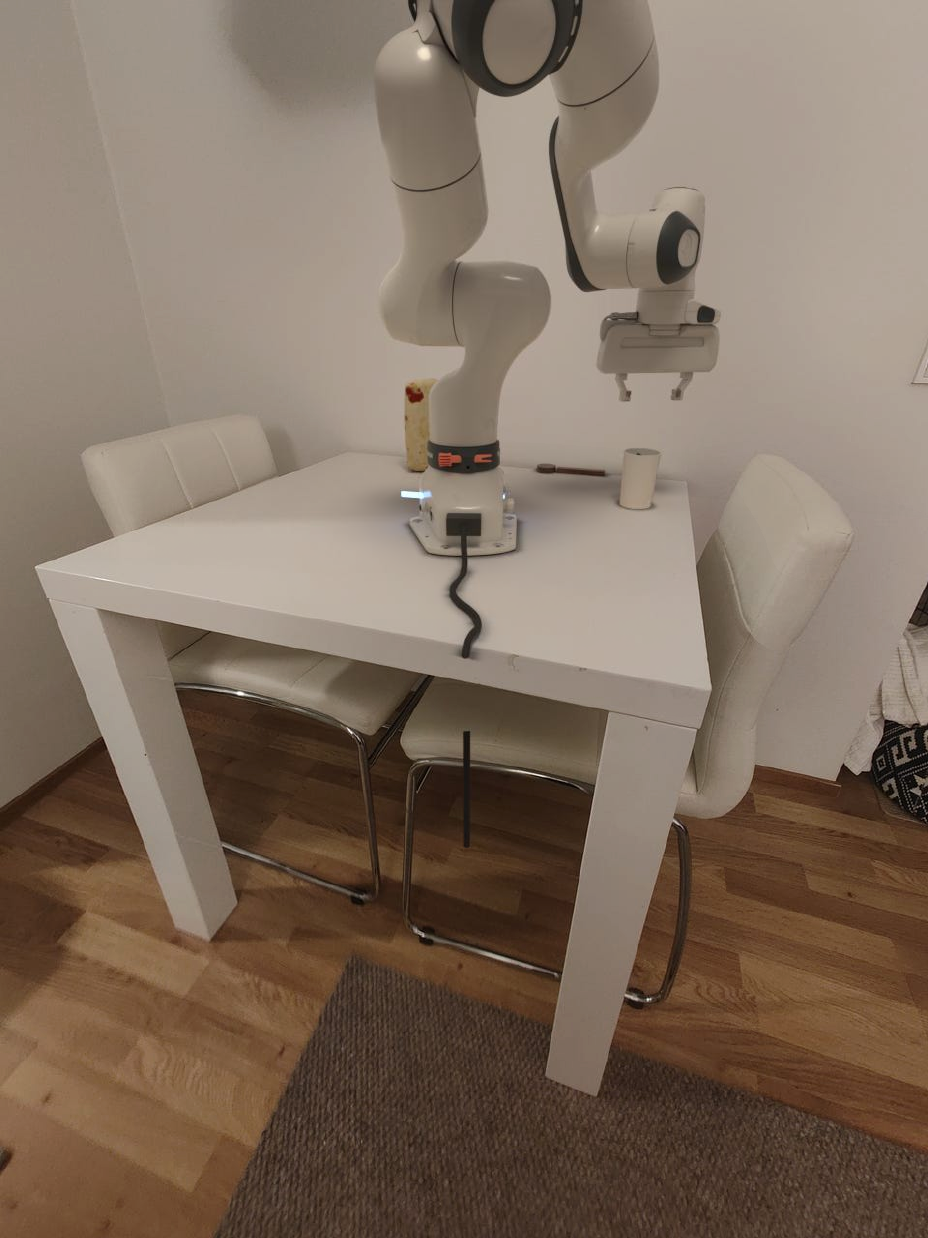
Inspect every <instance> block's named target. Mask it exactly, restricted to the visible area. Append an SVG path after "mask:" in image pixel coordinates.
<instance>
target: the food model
mask: <svg viewBox="0 0 928 1238" xmlns="http://www.w3.org/2000/svg"><path fill="white" fill-rule="evenodd" d="M438 380H439V379H437V378H423V379H419V380H417V379H414V380H412V381H410V382H407V383H406V384H405V386H404V436H405V437H404V439H405V441H404V442H405V450H406V464H407V468H408V469H409V470H410V471H414V472H422V471H423V472H425V471H426V469H427V468H428V466H429V464H428V462H427V442H428V440H429V439H430V434H429V400H428V397H429V393H430V390H431V388H432V386H433V385H434V384H435V382H436V381H438Z"/></svg>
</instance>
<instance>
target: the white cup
mask: <svg viewBox="0 0 928 1238" xmlns="http://www.w3.org/2000/svg"><path fill="white" fill-rule="evenodd" d="M661 458H662V451H660V450H657V449H653V448H648V447H647V448H645V447H631V448H626V449H624V450H623V458H622V469H621V484H620V493H619V495H620V496H619V505H620V506H621V507H623V508H627V509H632V510H646V509H649V508H650V507H651V506H652V501H653V495H654V491H655V488H656V487H655V486H656V482H657V476H658V472H659V466H660V462H661Z"/></svg>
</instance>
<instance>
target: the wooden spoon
mask: <svg viewBox="0 0 928 1238" xmlns="http://www.w3.org/2000/svg"><path fill="white" fill-rule="evenodd" d="M536 472H537V473H540V474H553V473H558V474H559V473H560V474H573V475H586V476H598V477H605V475H606V470H605V469H596V468H583V467H582V468H581V467H579V468H578V467H566V466H557V465H555V464H552V463H539V464H537V465H536Z"/></svg>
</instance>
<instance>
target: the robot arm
mask: <svg viewBox="0 0 928 1238" xmlns="http://www.w3.org/2000/svg"><path fill="white" fill-rule="evenodd" d="M407 7H408V10H409V13H410V15H411V18H412V20H413V22H414V23H413V25H411V26H410V27H408V28H406V29H404V30H402V31H400V32H398V33H397V34H395V35H394V36H392V37H391V38H390V39H389V40H388V41H387V42H386V43H385V44H384V45H383V47H382V48H381V50H380V51H379V53H378V56H377V58H376V61H375V65H374V69H373V88H374V89H373V90H374V98H375V108H376V116H377V124H378V129H379V136H380V140H381V146H382V151H383V156H384V160H385V164H386V167H387V168H386V169H387V171H388V177H389V180H390V183H391V186H392V191H393V195H394V199H395V203H396V208H397V212H398V217H399V221H400V227H401V234H402V246H401V252H400V255H399V258H398V260H397V262H396V264H395V265H394V266H393V267H392V268H391V269H390V270H389V271H388V272H387V273H386V274H385V276H384V278H383V280H382V282H381V284H380V287H379V289H378V290H379V291H378V296H377V308H378V314H379V317H380V321H381V323H382V325H383V328H384V329H385V331H386V332H387V334H388V335H389V336H390V337H391V338H392V339H393V340H395V341H399V342H403V343H407V344H411V345H415V346H419V347H454V348H455V347H457V348H458V347H459V348H460V347H461V348H464V355H463V361H462V363H461V365H460V366H459V367H458V368H456V369H453V370H452V371H450V372H448V373H446V374H445V375H443V376H442V377H440V378H438V379H437V380H438V381H436V382H435V384H434V385H433V386H432V388H431V390H430V393H429V397H428V400H429V434H430V439H429V440H428V442H427V462H428V464H429V466H428V468H427V469H426V470H425V471H423V472H422V473H421V475H419V478H418V479H419V480H418V481H419V492H418V491H417V492H416V491H404V490H403V491H401V497H403V498H415V499H419V507H418V509H419V515H416V516H413V517H410V518H409V523H408V525H409V527H410V528H411V530H412V532H413V533H414V534H415V536H416V538H417V539H418V540H419V542H420V543H421V545H422V546H423V549H424V550H425V551H426V553H429V554H433V555H440V556H453V557H454V556H455V557H456V556H457V557H458V556H459V557H461V569H460V573H459V575H458V576H457V578H456V579H454V580H453V581H452V583H451V584H450V585H449V594H450V597H451V600H453V601H454V602H455V603H456V604H457V605H458V606H459V607H461V609H463V610H464V611H465V612H467V613H468V614H469V616H471V618H472V619H473V621H474V626H473V627H472V628H471V629H470V630H469V631H468V633H467V634H466V636H465V637H464V641H463V644H462V650H461V658H462V659H464V660H465V659H466V660H467V659H468V658H470V653H471V652H470V651H471V645H472V642H473V639H475V636H477V635H478V633H479V632H480V631H481V629H482V628H483V623H482V622H483V621H482V618H481V616H480V614H479V613H478V611H476V610H475V609H474V608H473V607H472V606H470V604H468V603H467V602H466V601H464V600H463V599H462V598H461V597H460V596H459V595H458V593H457V587H458V586H459V585H460V584H461V583H462V581H463V579H465V577H466V574H467V570H468V565H469V563H468V556H469V557H470V556H472V557H473V556H487V555H497V554H504V553H509V552H511V551H514V550H516V547H517V531H518V516H517V515H516V514H513V513H515V512H514V511H515V499H514V498H506V495H511V485H506V484H507V474H506V472H504V470H502V468H500V466H499V465H501V448H500V440H499V439H498V426H499V425H498V423H499V409H500V399H501V393H502V388H503V385H504V382H505V379H506V376H507V375H508V372H509V370H510V368H511V367H512V365H513V364H514V362H515V361H516V359H517V358H518V357H519V356H520V355H521V353H522V352H524V350H525V349H526V348H528V347H529V346H530V345H531V344H532V343H534V342H535V341H536V340H537V339H538V338H540V335H542V333H543V331H544V330H545V328H546V326H547V324H548V321H549V319H550V316H551V310H552V294H551V289H550V286H549V283H548V280H547V278H546V277H545V275H544V273H543V272H542V271H541V270H540V268H539V267H537V266H533V265H529V264H526V263H525V264H524V263H520V262H515V261H509V260H483V261H479V260H477V261H463V260H458V259H459V258H460V257H463V255H465V254H466V253H468V251H470V250H471V249H472V248H473V247H474V246H475V245H476V244H477V242H478V241H479V240H480V238H481V237H482V235H483V233H484V232H485V229H486V227H487V224H488V219H489V203H488V202H489V201H488V195H487V187H486V179H485V171H484V163H483V156H482V149H481V148H482V147H481V142H480V135H479V128H478V123H477V105H478V98H479V97H478V96H479V92H480V89H481V90H483V91H484V92H486V93H488V94H490V95H493V96H496V97H501V98H510V97H515V96H519V95H521V94H524V93H525V92H529V91H530V90H531V89H533V88H535V87H536V86H537V85H538V84H540V83H541V82H542V81H543V80H545V79H546V78H547V77H549V80H550V83H551V86H552V89H553V93H554V95H555V98H556V103H557V108H558V115H557V117H556V118H555V119H554V121H553V123H552V126H551V129H550V133H549V138H548V158H549V159H548V160H549V168H550V175H551V180H552V184H553V191H554V194H555V195H554V196H555V198H556V204H557V209H558V214H559V218H560V219H559V220H560V224H561V228H562V233H563V238H564V246H565V265H566V270H567V273H568V276H569V278H570V279H571V282H573V284H574V285H575V286H576V287H577V289H579V290H580V291H581V292H584V293H592V292H599V291H606V290H623V289H624V290H625V289H626V290H630V289H637V290H638V291H637V297H636V298H637V299H636V308H635V311H627V312H617V311H616V312H611V313H609V314H608V315H606V316H605V317H604V318H602V321H601V323H600V325H599V326H600V327H599V339H600V343H599V347H598V350H597V351H598V352H597V356H596V368H597V370H598V372H599V373H600V374H605V375H606V374H607V375H608V374H609V375H613V374H615V376H614V380H615V383H616V385H617V388H618V389H619V398H618V400H619V402H631V399H632V397H631V396H632V393H633V392H632V390H630V389H628V388H627V386H626V384H625V381H628V374H674V373H675V374H676V373H677V374H679V379H681V380H680V382H679V383H678V385H677V386H676V388H671V395H670V400H671V401H683V398H684V393H685V390H686V389H687V388H688V386H689V385H690V383H691V382H692V381H693V378H694V373H710V372H711V371H713V369H714V368H715V367H716V366H717V362H718V357H719V351H720V339H721V338H720V337H721V335H720V330H719V327H717V326H716V324H718V323H719V322H720V320H721V316H722V312H721V310H720V309H719V308H717V307H714V306H711V305H709V304H706V303H704V302H701V301H699V300H697V299H695V291H696V282H695V281H696V280H695V278H696V277H695V276H696V273H697V272H696V271H697V268H698V265H699V263H700V260H701V258H702V257H701V256H702V249H703V243H704V234H705V223H706V198H705V195H704V194H703V193H702V192H701V191H700V190H698V189H696V188H694V187H693V188H691V187H690V188H689V187H687V186H686V187H685V186H674V187H669V188H665V189H662V190H661V191H659V192H658V193H656V195H655V196H654V198H653V201H652V206H651V209H649V210H645V211H641V212H631V213H621V214H608V213H604V212H602V211H600V210H598V208H597V204H596V197H595V190H594V183H593V175H592V171H593V170H595V169H596V168H598V167H599V166H601V165H603V164H604V163H606V162H608V161H610V160H612V159H614V158H615V157H616V156H618V155H619V154H620V153H622V152H623V151H625V149H626V148H628V146H629V145H631V143H632V142H633V141H634V140H635V139H636V138H637V136H638V135H639V134H640V132H641V131H642V130H643V128H644V127H645V125H646V124H647V122H648V120H649V118H650V116H651V114H652V112H653V109H654V108H655V104H656V101H657V98H658V94H659V90H660V61H659V52H658V46H657V41H656V34H655V29H654V24H653V20H652V14H651V9H650V5H649V1H648V0H407ZM462 768H463V769H462V775H463V776H462V788H463V789H462V795H463V797H462V799H463V800H462V801H463V802H462V804H463V805H462V807H463V808H462V812H463V813H462V820H463V821H462V822H463V823H462V824H463V827H462V832H463V833H462V835H463V837H462V838H463V840H462V842H463V843H462V845H463V847H464V848H465V849H468V848H470V846H471V730H464V731H462Z"/></svg>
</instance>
